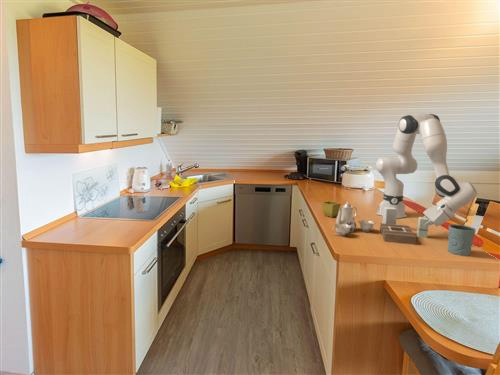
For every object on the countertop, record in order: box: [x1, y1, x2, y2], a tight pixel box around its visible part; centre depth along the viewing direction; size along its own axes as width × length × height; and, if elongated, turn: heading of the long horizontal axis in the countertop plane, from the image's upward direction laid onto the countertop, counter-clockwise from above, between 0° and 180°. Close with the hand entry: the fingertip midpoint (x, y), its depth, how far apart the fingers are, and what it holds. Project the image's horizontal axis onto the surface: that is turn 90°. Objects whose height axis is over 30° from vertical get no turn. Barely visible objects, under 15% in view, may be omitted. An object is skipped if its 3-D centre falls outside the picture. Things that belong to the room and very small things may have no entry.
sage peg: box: [416, 216, 429, 239], centre depth 165 cm, size 4×4×10 cm
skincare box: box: [381, 207, 397, 225], centre depth 178 cm, size 6×4×12 cm
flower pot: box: [321, 200, 341, 218], centre depth 204 cm, size 9×9×9 cm
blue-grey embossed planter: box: [447, 223, 476, 257], centre depth 142 cm, size 10×10×12 cm
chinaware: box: [331, 201, 376, 237], centre depth 171 cm, size 28×17×17 cm, turn 123°
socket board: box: [379, 222, 417, 245], centre depth 164 cm, size 20×14×4 cm
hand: (421, 224), depth 165 cm, fingers open, 6 cm apart
